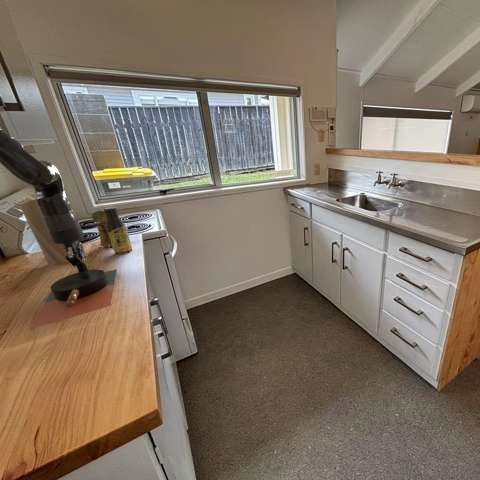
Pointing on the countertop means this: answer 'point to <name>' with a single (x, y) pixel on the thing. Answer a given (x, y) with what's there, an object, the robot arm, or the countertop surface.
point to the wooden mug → (102, 228)
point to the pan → (78, 285)
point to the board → (60, 311)
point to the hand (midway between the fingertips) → (85, 273)
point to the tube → (43, 234)
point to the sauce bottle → (117, 232)
